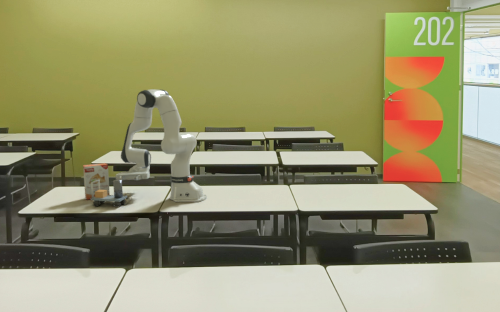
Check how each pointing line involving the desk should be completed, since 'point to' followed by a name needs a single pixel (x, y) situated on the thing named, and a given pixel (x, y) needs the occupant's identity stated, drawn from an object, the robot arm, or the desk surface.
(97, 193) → the orange block
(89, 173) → the cracker box
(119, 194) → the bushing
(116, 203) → the cart
